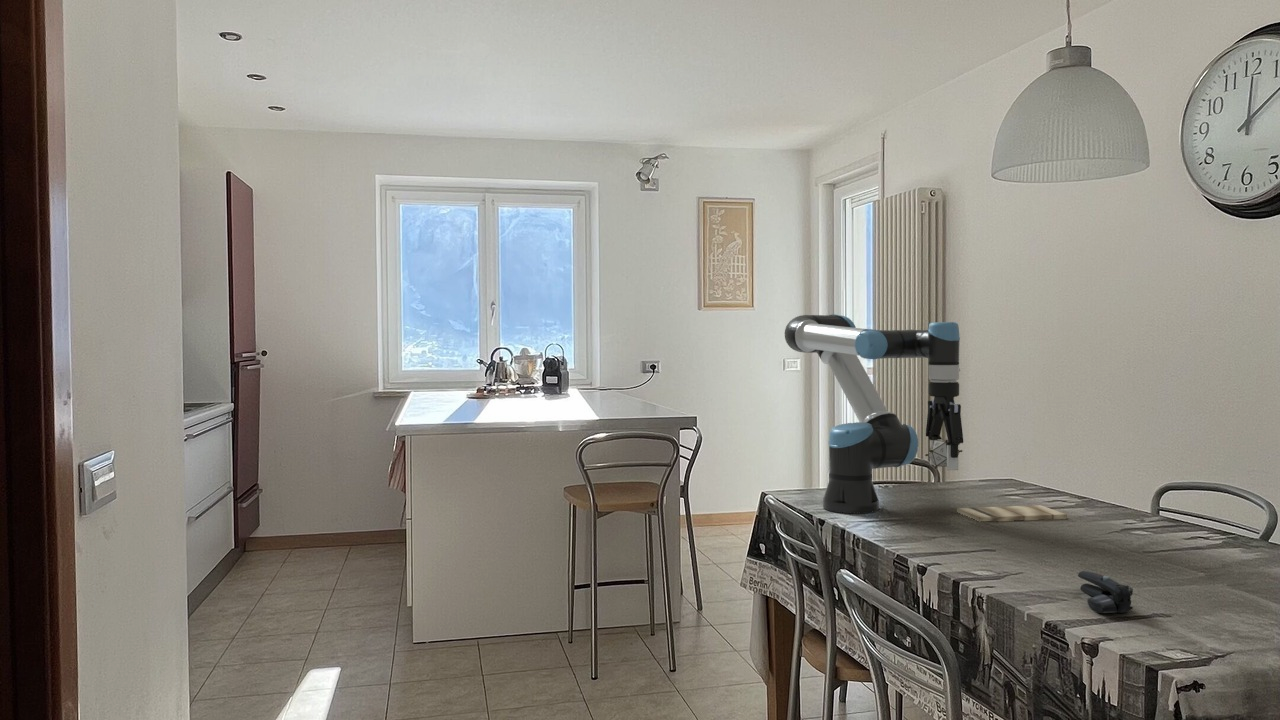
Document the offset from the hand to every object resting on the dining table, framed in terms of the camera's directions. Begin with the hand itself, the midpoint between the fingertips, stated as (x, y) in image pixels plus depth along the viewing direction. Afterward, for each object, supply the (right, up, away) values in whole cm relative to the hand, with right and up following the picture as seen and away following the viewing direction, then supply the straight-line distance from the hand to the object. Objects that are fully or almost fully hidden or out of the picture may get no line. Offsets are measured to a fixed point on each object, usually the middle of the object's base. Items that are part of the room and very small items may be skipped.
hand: (943, 467), depth 227 cm
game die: (0, 0, 0) cm, 0 cm away
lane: (+19, -13, +3) cm, 23 cm away
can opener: (+4, -16, -71) cm, 73 cm away
